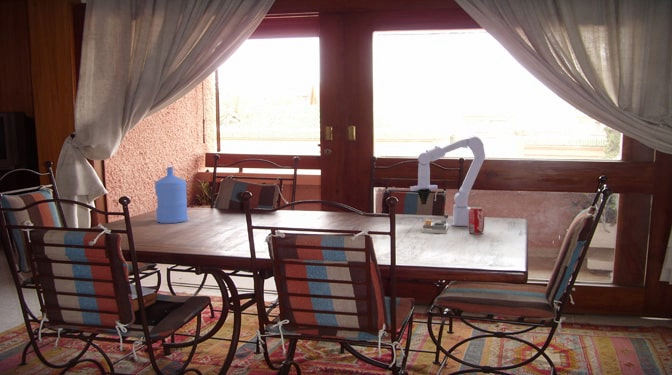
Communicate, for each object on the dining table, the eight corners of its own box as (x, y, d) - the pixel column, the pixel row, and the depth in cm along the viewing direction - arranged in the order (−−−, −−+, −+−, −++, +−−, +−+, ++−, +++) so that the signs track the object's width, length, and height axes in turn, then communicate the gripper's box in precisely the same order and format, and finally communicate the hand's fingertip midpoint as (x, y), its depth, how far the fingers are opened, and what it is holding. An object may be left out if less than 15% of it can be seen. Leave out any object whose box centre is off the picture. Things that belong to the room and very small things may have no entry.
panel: (448, 226, 303) (448, 219, 303) (445, 233, 287) (445, 225, 286) (425, 225, 306) (425, 218, 305) (421, 232, 290) (421, 224, 289)
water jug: (194, 220, 326) (192, 166, 323) (171, 224, 313) (169, 169, 310) (173, 217, 335) (170, 165, 331) (150, 222, 321) (147, 168, 318)
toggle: (445, 224, 300) (449, 214, 299) (445, 225, 299) (448, 215, 298) (441, 222, 301) (445, 213, 300) (441, 223, 299) (444, 214, 298)
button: (443, 227, 292) (444, 222, 292) (443, 229, 288) (443, 224, 288) (435, 227, 293) (435, 222, 293) (434, 228, 289) (434, 223, 289)
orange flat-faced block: (431, 226, 295) (431, 219, 294) (430, 227, 292) (430, 220, 291) (426, 226, 295) (426, 219, 295) (425, 227, 292) (425, 220, 292)
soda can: (485, 232, 289) (486, 206, 287) (482, 235, 282) (482, 208, 281) (470, 231, 292) (470, 205, 290) (466, 233, 285) (467, 208, 284)
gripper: (415, 178, 301) (414, 206, 303) (440, 177, 307) (440, 204, 308) (408, 177, 308) (407, 204, 309) (433, 175, 313) (433, 202, 315)
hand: (423, 204), depth 309 cm, fingers closed
